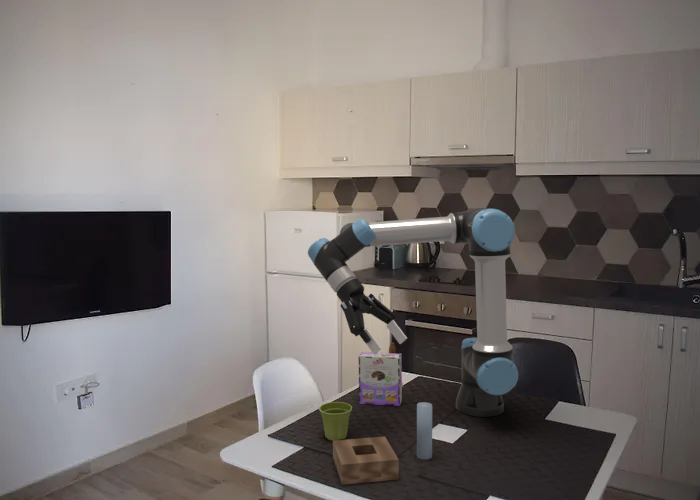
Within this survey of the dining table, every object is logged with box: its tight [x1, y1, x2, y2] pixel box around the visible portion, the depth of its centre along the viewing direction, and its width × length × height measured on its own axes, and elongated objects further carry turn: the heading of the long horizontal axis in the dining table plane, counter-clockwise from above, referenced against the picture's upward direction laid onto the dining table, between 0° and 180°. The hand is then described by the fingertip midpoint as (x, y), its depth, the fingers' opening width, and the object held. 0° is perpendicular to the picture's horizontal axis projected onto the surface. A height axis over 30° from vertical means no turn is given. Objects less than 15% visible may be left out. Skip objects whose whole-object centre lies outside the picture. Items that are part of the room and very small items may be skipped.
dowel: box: [416, 401, 433, 461], centre depth 155 cm, size 4×4×14 cm
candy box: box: [357, 351, 403, 407], centre depth 196 cm, size 14×6×16 cm, turn 77°
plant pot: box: [318, 401, 353, 442], centre depth 168 cm, size 9×9×9 cm
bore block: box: [332, 436, 400, 486], centre depth 148 cm, size 14×14×5 cm
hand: (391, 346), depth 159 cm, fingers open, 13 cm apart
